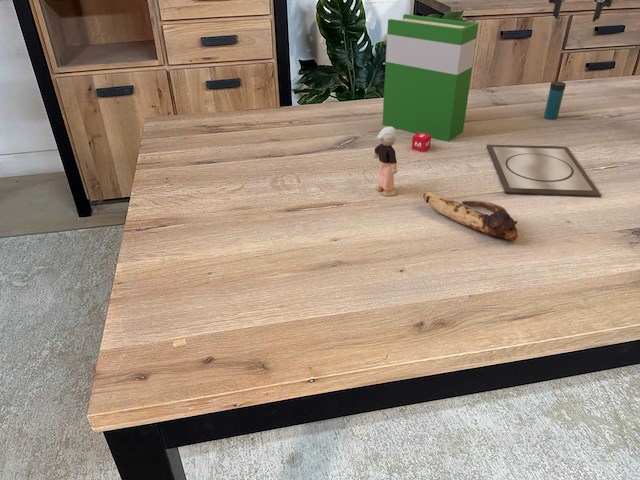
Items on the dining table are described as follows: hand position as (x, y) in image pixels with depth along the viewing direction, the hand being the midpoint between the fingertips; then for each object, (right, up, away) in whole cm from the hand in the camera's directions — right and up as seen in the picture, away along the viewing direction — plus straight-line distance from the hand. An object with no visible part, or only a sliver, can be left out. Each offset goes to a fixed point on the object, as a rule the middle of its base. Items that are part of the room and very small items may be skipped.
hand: (575, 18), depth 129 cm
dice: (-40, -34, -12) cm, 53 cm away
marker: (-5, -23, +3) cm, 24 cm away
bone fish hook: (-36, -51, -37) cm, 72 cm away
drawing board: (-18, -40, -21) cm, 48 cm away
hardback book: (-37, -27, -2) cm, 46 cm away
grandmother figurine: (-50, -44, -27) cm, 72 cm away
